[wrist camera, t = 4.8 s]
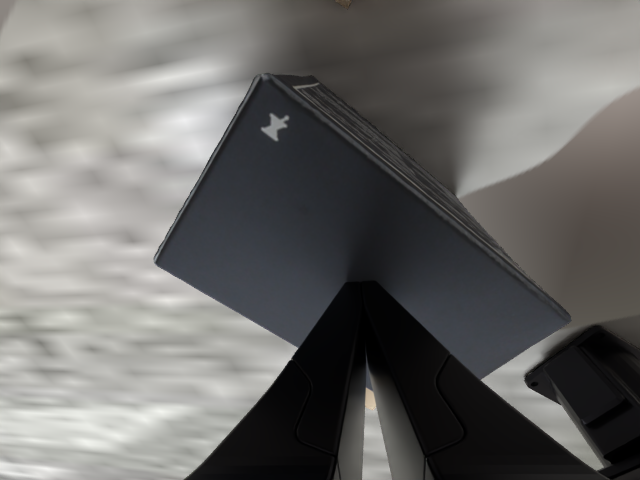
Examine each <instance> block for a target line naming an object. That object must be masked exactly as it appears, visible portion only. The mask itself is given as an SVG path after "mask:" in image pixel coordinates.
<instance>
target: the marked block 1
mask: <svg viewBox="0 0 640 480" xmlns="http://www.w3.org/2000/svg"><path fill="white" fill-rule="evenodd" d="M335 1H336V2H338V3H339V4H340V5H342V6H343V7H345V8H346V9H348V7H349V5H350V3H351V2H352V0H335Z"/></svg>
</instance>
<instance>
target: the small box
mask: <svg viewBox="0 0 640 480" xmlns="http://www.w3.org/2000/svg"><path fill="white" fill-rule="evenodd" d="M154 263H155V265H157V266H158V267H160V268H161V269H163V270H165V271H167V272H169V273H170V274H172V275H173V276H175V277H177V278H179V279H181V280H183V281H184V282H186V283H187V284H189V285H191V286H193V287H194V288H196V289H198V290H199V291H201V292H203V293H204V294H206V295H208V296H210V297H211V298H213V299H215V300H217V301H218V302H220V303H222V304H224V305H225V306H227V307H229V308H231V309H232V310H234V311H236V312H238V313H239V314H241V315H243V316H244V317H246V318H248V319H250V320H251V321H253V322H255V323H256V324H258V325H260V326H262V327H263V328H265V329H267V330H268V331H270V332H272V333H274V334H275V335H277V336H279V337H280V338H282V339H284V340H286V341H287V342H289V343H291V344H292V345H294V346H296V347H297V348H299V347H300V345H301V344H302V343H303V341H304V340H305V338H306V337H307V336H308V334H309V333H310V331H311V330H312V328H313V327H314V326H315V324H316V323H317V321H318V320H319V319H320V317H321V316H322V314H323V313H324V311H325V310H326V309H327V307H328V306H329V304H330V303H331V302H332V300H333V299H334V297H335V296H336V295H337V293H338V292H339V290H340V289H341V287H342V286H343V285H344V283H346V282H355V281H358V282H360V284H361V282H362V281H371V280H375V281H377V282H378V283H379V284H380V285H381V286H382V287H383V288H384V289H385V290H386V291H387V292H389V293H390V294H391V295H392V296H393V297H394V298H395V299H396V300H397V301H398V302H399V303H400V304H401V305H402V306H403V307H404V308H405V309H406V310H407V311H408V312H409V313H410V314H411V315H412V316H413V317H414V318H415V319H416V320H418V321H419V322H420V323H421V324H422V325H423V326H424V327H425V328H426V329H427V330H428V331H429V332H430V333H431V334H432V335H433V336H434V337H435V338H436V339H437V340H438V341H439V342H440V343H441V344H442V345H443V346H444V347H446V348H447V349H448V350H449V351H450V353H451V354H453V355H454V356H455V357H456V358H457V359H458V360H459V361H460V362H461V363H462V364H463V365H464V366H465V367H467V368H468V369H469V370H470V371H471V372H472V373H473V374H474V375H475V376H476V377H478V378H479V379H480V380H481V379H482V378H484V377H485V376H487V375H488V374H490V373H491V372H493V371H494V370H496V369H498V368H499V367H501V366H502V365H504V364H505V363H507V362H508V361H510V360H511V359H513V358H514V357H516V356H517V355H519V354H521V353H522V352H524V351H525V350H527V349H528V348H530V347H531V346H533V345H534V344H536V343H538V342H539V341H541V340H543V339H544V338H546V337H548V336H549V335H551V334H552V333H554V332H555V331H557V330H559V329H560V328H562V327H564V326H565V325H567V324H569V323H570V322H571V317H570V315H569V313H568V312H567V311H566V310H565V309H564V308H563V307H562V306H561V305H559V304H558V303H557V302H556V301H555V300H554V299H553V298H552V297H550V296H549V295H548V294H547V293H546V292H545V291H544V290H543V289H542V288H541V287H540V286H539V285H537V284H536V283H535V281H533V280H532V279H531V278H530V277H529V276H528V275H527V274H526V273H525V272H524V271H523V270H522V269H521V268H520V267H519V265H518V264H517V263H515V262H514V261H513V260H512V259H511V257H510V256H508V254H507V253H506V252H505V251H504V250H503V249H502V247H500V246H499V244H498V243H497V242H496V241H495V240H494V239H493V238H492V237H491V236H490V235H489V234H488V233H487V232H486V231H485V229H484V228H483V227H482V226H481V225H480V224H479V223H478V222H477V221H476V220H475V218H474V217H473V216H472V215H471V214H470V213H469V212H468V211H467V209H466V208H465V207H464V206H463V205H462V203H461V202H460V201H459V200H458V198H457V197H456V196H455V195H454V194H453V193H451V192H450V191H449V190H448V189H447V188H446V187H444V186H443V185H442V184H441V183H440V182H439V181H437V180H436V179H435V178H434V177H433V176H432V175H430V174H429V173H428V172H427V171H425V170H424V169H423V168H422V167H421V166H420V165H419V164H417V163H416V162H415V160H414V159H412V158H411V157H409V156H408V155H407V154H406V153H404V152H403V151H402V150H401V149H400V148H398V147H397V146H396V145H395V144H393V143H392V142H391V141H390V140H389V139H387V137H386V136H384V135H383V134H382V133H381V132H379V131H378V129H377V128H376V127H375V126H373V125H372V124H371V123H370V122H368V121H367V120H366V119H364V118H363V117H361V116H360V115H359V114H358V113H357V111H356V110H355V109H353V108H351V107H350V106H349V105H347V104H346V103H345V102H344V101H343V100H341V99H340V98H339V97H337V96H336V95H335V94H334V93H332V92H331V91H330V90H329V89H327V88H326V87H325V86H324V85H322V84H321V83H320V82H319V81H318V80H317V79H316V78H315V77H314V76H306V77H299V76H294V75H293V76H292V75H274V74H270V73H265V74H258V75H257V76H256V77H254V79H253V82H252V84H251V86H250V88H249V90H248V92H247V94H246V96H245V98H244V100H243V101H242V103H241V104H240V106H239V108H238V110H237V112H236V114H235V116H234V117H233V119H232V121H231V122H230V124H229V126H228V128H227V129H226V131H225V133H224V135H223V137H222V138H221V140H220V142H219V143H218V145H217V147H216V148H215V150H214V152H213V153H212V155H211V157H210V159H209V161H208V163H207V165H206V167H205V168H204V170H203V172H202V174H201V176H200V177H199V179H198V181H197V183H196V184H195V186H194V188H193V189H192V191H191V192H190V195H189V197H188V198H187V199H186V201H185V203H184V205H183V207H182V208H181V210H180V211H179V213H178V215H177V217H176V219H175V221H174V223H173V225H172V226H171V227H170V229H169V231H168V233H167V235H166V237H165V239H164V241H163V242H162V243H161V245H160V246H159V249H158V251H157V253H156V254H155V256H154ZM366 361H367V356H366ZM366 388H367V389H369V390H371V391H372V392H373V388H372V384H371V379H370V375H369V370H368V364H367V373H366Z"/></svg>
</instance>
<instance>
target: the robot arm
mask: <svg viewBox="0 0 640 480" xmlns="http://www.w3.org/2000/svg"><path fill="white" fill-rule="evenodd" d="M366 356H367V361H366ZM367 364H368V370H369V375H370V379H371V384H372V388H373V393H374V398H375V402H376V407H377V411H378V416H379V420H380V425H381V429H382V434H383V439H384V443H385V448H386V452H387V457H388V461H389V466H390V471H391V475H392V480H640V349H638V348H637V347H635V346H633V345H632V344H630V343H628V342H627V341H625V340H624V339H622V338H620V337H619V336H617V335H616V334H614V333H612V332H611V331H609V330H607V329H606V328H604V327H603V326H594V327H592V328H590V329H589V330H588V331H586V332H585V333H584V334H583V335H581V336H580V337H579V338H577V339H576V340H575V341H573V342H572V343H571V344H569V345H568V346H567V347H565V348H564V349H563V350H561V351H560V352H559V353H557V354H556V355H555V356H553V357H552V358H551V359H549V360H548V361H547V362H545V363H544V364H543V365H541V366H540V367H539V368H537V369H536V370H535V371H534V372H532V373H531V374H530V375H528V376H527V377H526V378H525V380H524V381H525V383H526V385H527V386H528V387H529V388H530V389H532V390H534V391H536V392H538V393H539V394H541V395H543V396H545V397H547V398H549V399H551V400H552V401H554V402H556V403H558V404H560V405H562V407H563V408H564V410H565V411H566V412H567V414H568V415H569V417H570V418H571V420H572V421H573V423H574V424H575V426H576V427H577V428H578V430H579V431H580V433H581V434H582V436H583V437H584V439H585V440H586V442H587V443H588V444H589V446H590V447H591V449H592V450H593V452H594V453H595V455H596V456H597V458H598V459H599V460H600V462H601V463H602V465H603V466H604V468H602V469H600V470H597V471H596V470H594V469H593V468H591V467H590V466H588V465H587V464H585V463H584V462H583V461H581V460H580V459H578V458H577V457H576V456H574V455H573V454H572V453H571V452H569V451H568V450H567V449H566V448H564V447H563V446H562V445H560V444H559V443H558V442H557V441H555V440H554V439H553V438H552V437H550V436H549V435H548V434H547V433H545V432H544V431H543V430H541V429H540V428H539V427H538V426H536V425H535V424H534V423H533V422H531V421H530V420H529V419H528V418H526V417H525V416H524V415H522V414H521V413H520V412H519V411H517V410H516V409H515V408H514V407H512V406H511V405H510V404H509V403H507V402H506V401H505V400H504V399H502V398H501V397H500V396H499V395H498V394H496V393H495V392H494V391H493V390H492V389H490V388H489V387H488V386H487V385H485V384H484V383H483V382H482V381H481V380H480V379H479V378H478V377H476V376H475V375H474V374H473V373H472V372H471V371H470V370H469V369H468V368H467V367H465V366H464V365H463V364H462V363H461V362H460V361H459V360H458V359H457V358H456V357H455V356H454V355H453V354H451V353H450V351H449V350H448V349H447V348H446V347H444V346H443V345H442V344H441V343H440V342H439V341H438V340H437V339H436V338H435V337H434V336H433V335H432V334H431V333H430V332H429V331H428V330H427V329H426V328H425V327H424V326H423V325H422V324H421V323H420V322H419V321H418V320H416V319H415V318H414V317H413V316H412V315H411V314H410V313H409V312H408V311H407V310H406V309H405V308H404V307H403V306H402V305H401V304H400V303H399V302H398V301H397V300H396V299H395V298H394V297H393V296H392V295H391V294H390V293H389V292H387V291H386V290H385V289H384V288H383V287H382V286H381V285H380V284H379V283H378V282H377V281H375V280H371V281H362V282H361V284H360V282H358V281H355V282H346V283H344V285H343V286H342V287H341V289H340V290H339V292H338V293H337V295H336V296H335V297H334V299H333V300H332V302H331V303H330V304H329V306H328V307H327V309H326V310H325V311H324V313H323V314H322V316H321V317H320V319H319V320H318V321H317V323H316V324H315V326H314V327H313V328H312V330H311V331H310V333H309V334H308V336H307V337H306V338H305V340H304V341H303V343H302V344H301V345H300V347H299V348H298V350H297V351H296V352H295V354H294V355H293V357H292V358H291V360H290V361H289V362H288V363H287V365H286V366H285V368H284V369H283V371H282V372H281V373H280V375H279V376H278V377H277V379H276V380H275V381H274V383H273V384H272V385H271V386H270V388H269V389H268V390H267V391H266V393H265V394H264V395H263V396H262V397H261V398H260V400H259V401H258V402H257V403H256V404H255V405H254V407H253V408H252V409H251V410H250V411H249V412H248V413H247V414H246V415H245V417H244V418H243V419H242V420H241V421H240V422H239V423H238V424H237V425H236V427H235V428H234V429H233V430H232V431H231V432H230V433H229V434H228V435H227V437H226V438H225V439H224V440H223V441H222V442H221V443H220V444H219V445H218V447H217V448H216V449H215V450H214V451H213V452H212V453H211V454H210V455H209V457H208V458H207V459H206V460H205V461H204V462H203V463H202V464H201V465H200V466H199V467H198V468H197V469H196V470H194V471H193V472H192V473H191V474H190V475H189V476H187V477H186V478H185V479H184V480H362V464H363V441H364V419H365V396H366V373H367Z"/></svg>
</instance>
